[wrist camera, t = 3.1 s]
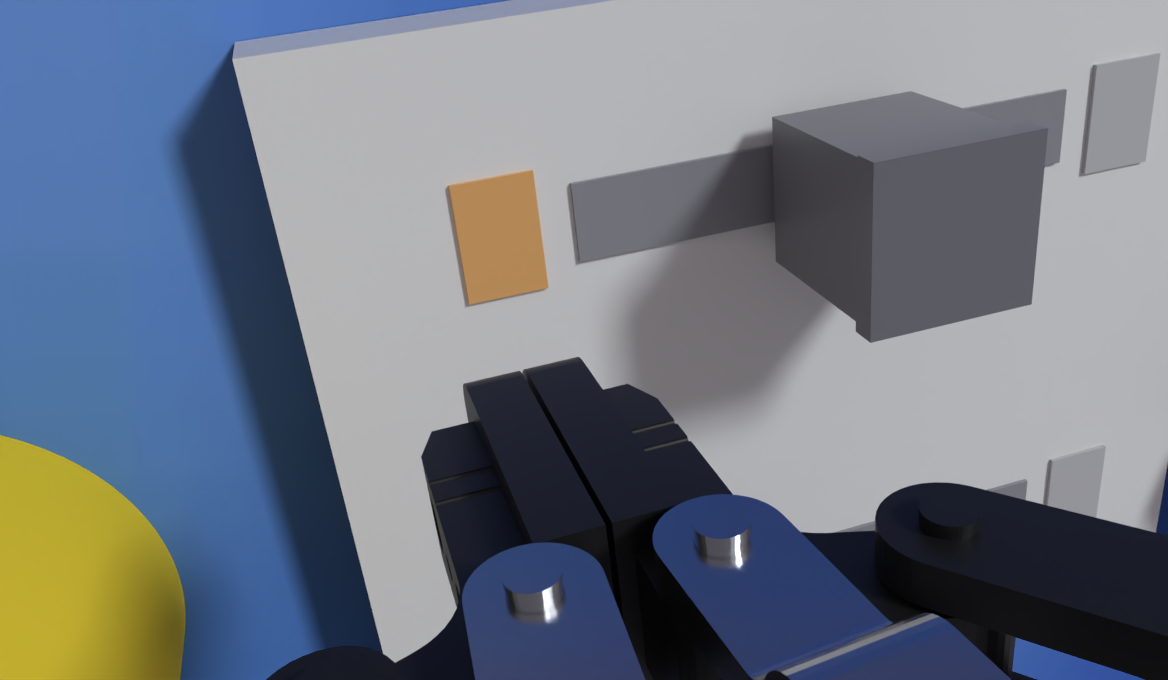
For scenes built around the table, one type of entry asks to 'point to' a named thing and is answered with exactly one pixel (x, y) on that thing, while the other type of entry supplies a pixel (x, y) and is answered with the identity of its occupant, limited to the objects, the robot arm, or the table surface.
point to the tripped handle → (908, 210)
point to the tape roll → (81, 577)
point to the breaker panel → (707, 249)
